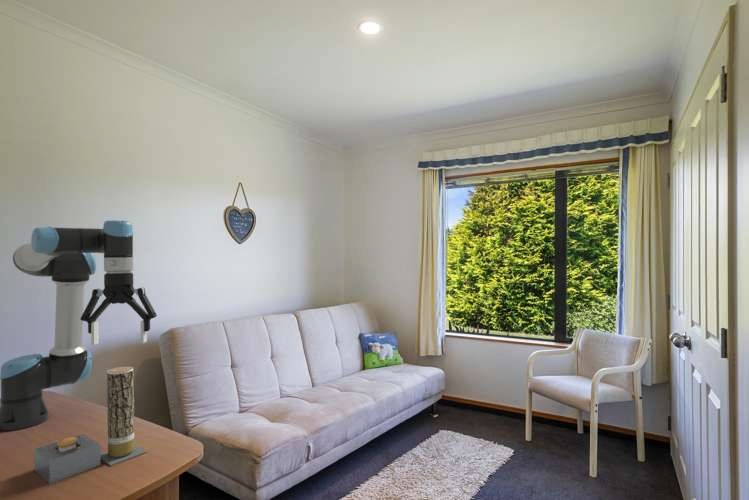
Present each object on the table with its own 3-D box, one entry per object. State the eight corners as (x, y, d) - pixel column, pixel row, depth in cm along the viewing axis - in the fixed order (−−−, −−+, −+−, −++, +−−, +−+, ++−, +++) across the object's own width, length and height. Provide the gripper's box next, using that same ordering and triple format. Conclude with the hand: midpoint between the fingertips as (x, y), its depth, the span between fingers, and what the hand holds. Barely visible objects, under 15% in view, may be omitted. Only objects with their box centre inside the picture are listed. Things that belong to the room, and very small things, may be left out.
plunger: (55, 465, 121) (54, 441, 121) (74, 459, 124) (73, 435, 124) (61, 470, 118) (60, 445, 118) (80, 463, 122) (80, 439, 122)
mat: (96, 456, 128) (96, 455, 128) (131, 444, 136) (131, 443, 136) (110, 466, 122) (110, 464, 122) (146, 452, 130) (146, 451, 130)
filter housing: (34, 470, 120) (34, 449, 120) (83, 454, 130) (83, 434, 130) (49, 484, 113) (49, 461, 113) (100, 465, 122) (100, 444, 122)
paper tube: (135, 454, 128) (134, 370, 128) (108, 460, 124) (107, 373, 124) (133, 446, 133) (132, 365, 134) (107, 451, 130) (106, 368, 130)
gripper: (66, 273, 124) (67, 347, 124) (158, 272, 127) (159, 344, 127) (80, 272, 131) (81, 342, 131) (167, 270, 135) (167, 338, 135)
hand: (119, 343), depth 129 cm, fingers open, 13 cm apart
